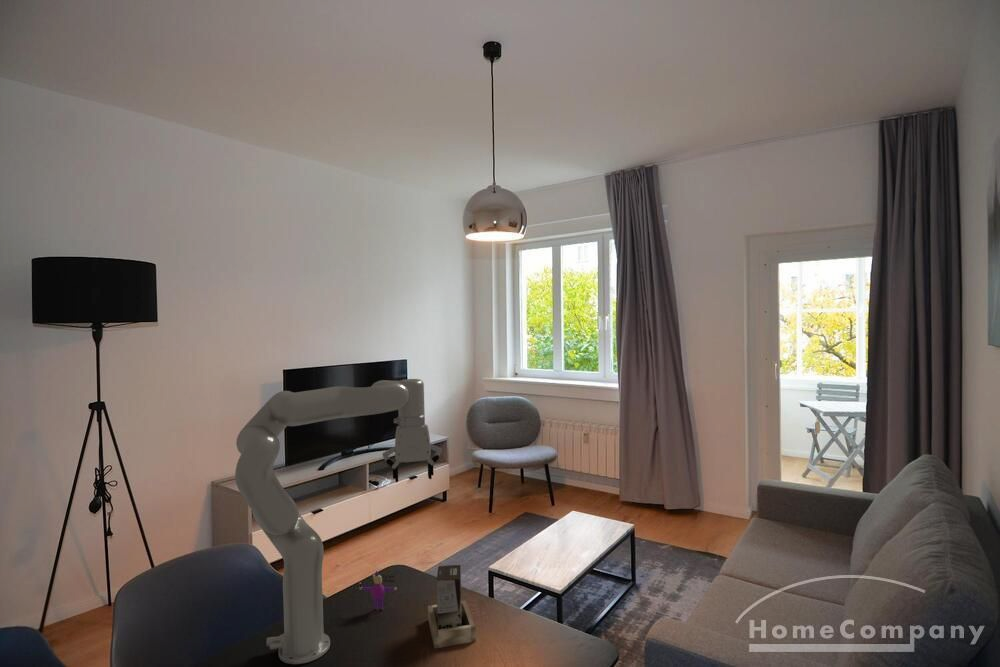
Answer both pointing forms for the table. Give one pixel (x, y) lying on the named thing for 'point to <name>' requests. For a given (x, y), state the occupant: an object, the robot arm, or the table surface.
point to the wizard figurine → (378, 589)
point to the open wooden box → (452, 629)
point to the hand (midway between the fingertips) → (413, 479)
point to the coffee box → (449, 597)
